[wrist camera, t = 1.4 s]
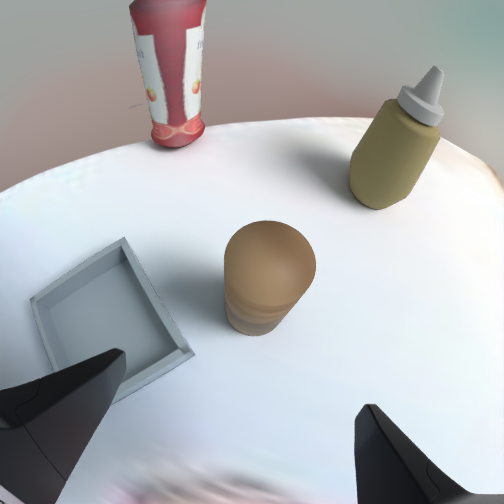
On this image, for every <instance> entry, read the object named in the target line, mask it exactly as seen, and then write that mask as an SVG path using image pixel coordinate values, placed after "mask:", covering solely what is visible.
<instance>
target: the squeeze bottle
mask: <svg viewBox="0 0 504 504" xmlns="http://www.w3.org/2000/svg"><path fill="white" fill-rule="evenodd" d="M444 74H445V73H444V72H443V71H442V70H441V69H439V68H438V67H436V66H433V67H432V68H431V69H430V71H429V72H428V73H427V74H426V75H425V76H424V78H423V79H422V80H421V81H420V82H419V83H418V85H417V86H416V87H413V86H409V85H405V86H403V87H402V89H401V91H400V93H399V95H398V97H397V99H389V100H387V101H385V102H384V104H383V106H382V107H381V109H380V110H379V112H378V114H377V115H376V117H375V118H374V120H373V122H372V123H371V125H370V126H369V128H368V129H367V131H366V133H365V134H364V136H363V137H362V139H361V140H360V142H359V144H358V145H357V147H356V148H355V150H354V151H353V153H352V157H351V160H350V176H349V184H350V189H351V191H352V193H353V194H354V196H355V197H356V198H357V199H358V200H359V201H360V202H361V203H362V204H364V205H366V206H368V207H370V208H373V209H379V210H380V209H384V208H387V207H389V206H391V205H393V204H395V203H397V202H399V201H401V200H402V199H404V198H406V197H407V196H408V194H409V193H410V192H411V190H412V189H413V187H414V185H415V184H416V182H417V180H418V178H419V177H420V175H421V173H422V171H423V170H424V168H425V166H426V164H427V162H428V161H429V159H430V157H431V155H432V153H433V151H434V149H435V147H436V145H437V143H438V142H439V140H440V134H439V130H438V127H437V125H438V123H439V122H440V120H441V118H442V117H443V115H444V111H443V109H442V107H441V106H440V105H439V104H438V99H439V95H440V91H441V87H442V83H443V79H444Z"/></svg>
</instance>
